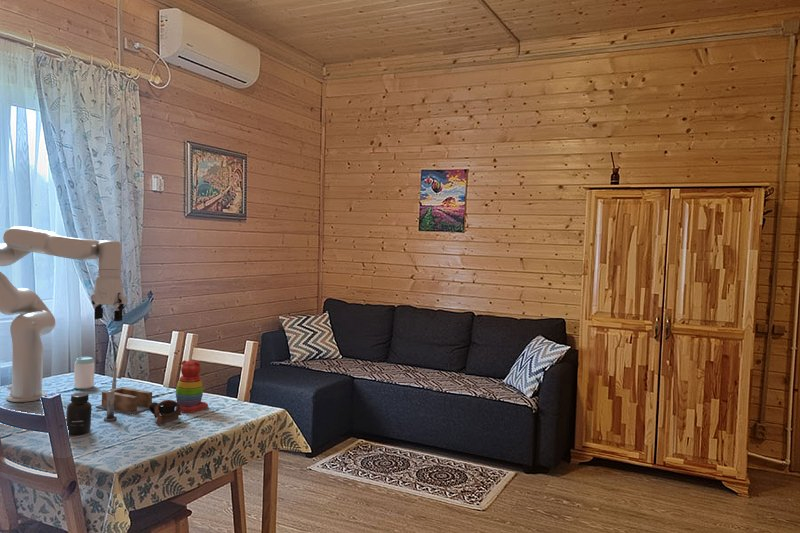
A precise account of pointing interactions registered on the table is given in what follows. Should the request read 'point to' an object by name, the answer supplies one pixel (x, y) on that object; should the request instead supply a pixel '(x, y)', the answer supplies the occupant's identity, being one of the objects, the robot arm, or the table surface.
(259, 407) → the table surface
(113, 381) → the tow hook
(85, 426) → the supplement bottle
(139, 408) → the mat
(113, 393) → the post
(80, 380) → the can
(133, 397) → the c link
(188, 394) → the stacking bear
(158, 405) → the pottery mug
